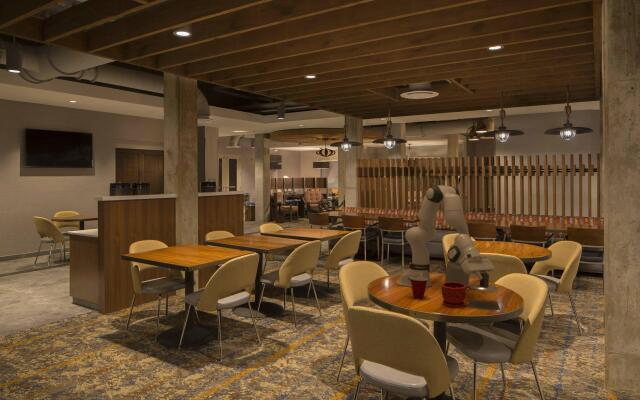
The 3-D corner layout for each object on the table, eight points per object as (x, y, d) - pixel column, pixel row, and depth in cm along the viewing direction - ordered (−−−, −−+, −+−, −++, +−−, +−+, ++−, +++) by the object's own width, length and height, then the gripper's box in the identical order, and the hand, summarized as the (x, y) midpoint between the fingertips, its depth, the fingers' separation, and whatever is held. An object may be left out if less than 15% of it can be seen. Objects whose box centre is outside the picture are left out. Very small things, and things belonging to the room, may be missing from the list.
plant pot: (438, 302, 259) (438, 281, 259) (460, 302, 260) (460, 281, 260) (446, 309, 246) (446, 287, 246) (469, 308, 247) (469, 287, 247)
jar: (475, 291, 286) (476, 251, 284) (452, 291, 284) (453, 251, 283) (463, 284, 304) (463, 246, 303) (441, 284, 303) (442, 247, 302)
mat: (469, 308, 248) (469, 307, 248) (468, 300, 263) (468, 300, 263) (500, 310, 243) (500, 310, 243) (497, 302, 259) (497, 302, 259)
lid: (465, 286, 255) (465, 271, 255) (483, 284, 261) (484, 270, 261) (484, 292, 243) (484, 277, 242) (502, 290, 249) (503, 275, 248)
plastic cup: (430, 296, 272) (430, 277, 271) (424, 301, 262) (425, 280, 262) (412, 294, 277) (413, 275, 277) (406, 298, 268) (407, 278, 267)
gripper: (483, 260, 266) (495, 280, 258) (456, 261, 257) (468, 283, 249) (489, 254, 262) (502, 274, 253) (462, 255, 253) (474, 276, 245)
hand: (485, 278), depth 251 cm, fingers closed on lid, 3 cm apart
